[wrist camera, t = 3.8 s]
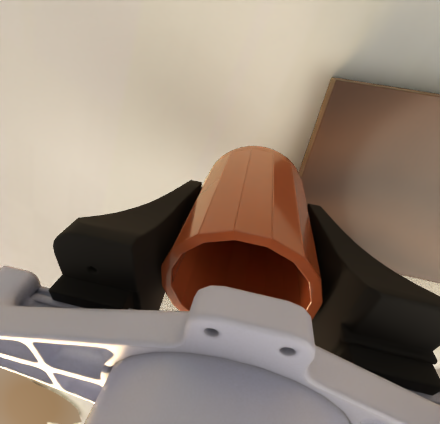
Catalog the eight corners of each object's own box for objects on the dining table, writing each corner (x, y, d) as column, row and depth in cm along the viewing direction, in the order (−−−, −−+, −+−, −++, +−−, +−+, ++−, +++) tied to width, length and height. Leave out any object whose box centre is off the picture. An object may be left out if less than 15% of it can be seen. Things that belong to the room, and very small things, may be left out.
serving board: (492, 283, 22) (505, 297, 21) (276, 237, 24) (276, 247, 23) (678, 132, 14) (716, 140, 13) (331, 77, 16) (335, 79, 15)
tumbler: (286, 236, 16) (293, 351, 10) (203, 219, 17) (162, 318, 11) (316, 156, 13) (353, 255, 7) (211, 137, 13) (158, 214, 7)
